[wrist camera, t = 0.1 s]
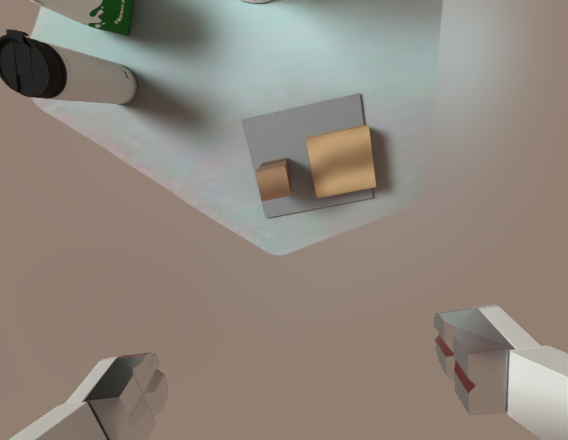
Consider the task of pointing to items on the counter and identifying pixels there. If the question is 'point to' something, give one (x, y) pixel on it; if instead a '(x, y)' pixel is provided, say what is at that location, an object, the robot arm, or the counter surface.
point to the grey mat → (301, 149)
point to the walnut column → (274, 179)
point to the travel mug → (62, 72)
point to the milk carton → (95, 12)
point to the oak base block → (341, 161)
